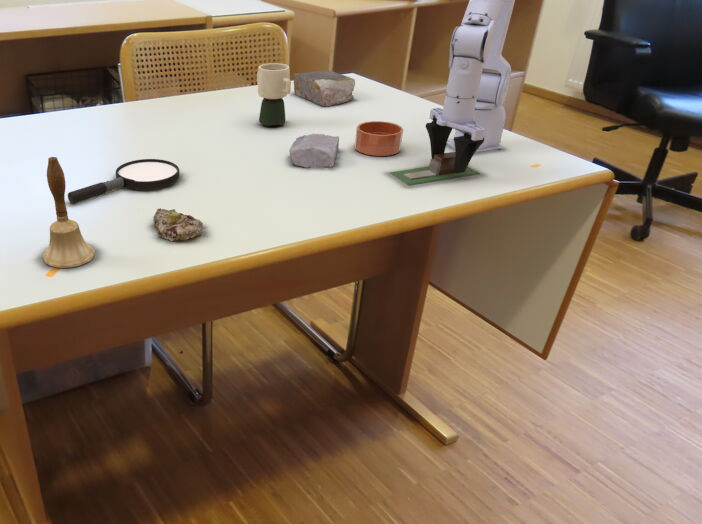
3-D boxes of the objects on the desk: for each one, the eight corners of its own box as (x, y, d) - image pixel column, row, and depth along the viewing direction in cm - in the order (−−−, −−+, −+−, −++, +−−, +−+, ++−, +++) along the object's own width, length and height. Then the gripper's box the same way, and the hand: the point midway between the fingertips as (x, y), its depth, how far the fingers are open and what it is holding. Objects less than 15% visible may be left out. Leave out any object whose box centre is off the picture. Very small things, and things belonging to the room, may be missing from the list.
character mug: (298, 126, 161) (302, 68, 154) (276, 133, 158) (279, 73, 150) (267, 116, 168) (269, 59, 160) (245, 122, 164) (246, 64, 157)
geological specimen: (326, 68, 186) (360, 77, 174) (324, 92, 189) (357, 102, 178) (292, 72, 181) (325, 82, 170) (291, 96, 185) (323, 107, 173)
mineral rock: (217, 219, 114) (179, 220, 109) (212, 244, 116) (175, 246, 111) (178, 202, 121) (141, 202, 116) (175, 226, 123) (138, 226, 118)
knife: (454, 167, 139) (457, 150, 137) (462, 171, 137) (465, 155, 135) (403, 175, 135) (405, 158, 133) (410, 180, 133) (413, 163, 131)
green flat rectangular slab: (458, 163, 141) (459, 161, 141) (480, 175, 136) (481, 173, 136) (389, 174, 137) (389, 172, 137) (408, 187, 131) (409, 185, 131)
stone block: (289, 174, 141) (337, 168, 139) (285, 151, 139) (334, 144, 136) (296, 157, 151) (341, 150, 148) (292, 135, 148) (339, 128, 146)
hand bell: (32, 263, 107) (13, 164, 98) (60, 241, 114) (45, 146, 104) (78, 272, 105) (63, 171, 96) (104, 249, 111) (92, 152, 102)
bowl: (384, 140, 153) (387, 119, 150) (408, 154, 146) (411, 132, 143) (346, 146, 150) (348, 124, 147) (368, 160, 143) (371, 137, 140)
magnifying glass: (53, 194, 130) (51, 183, 128) (153, 163, 143) (153, 152, 141) (90, 214, 122) (88, 202, 121) (192, 179, 135) (191, 168, 134)
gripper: (421, 87, 133) (410, 156, 141) (467, 107, 122) (452, 181, 130) (452, 83, 135) (439, 151, 143) (500, 103, 124) (483, 176, 132)
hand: (447, 165), depth 136 cm, fingers open, 7 cm apart
